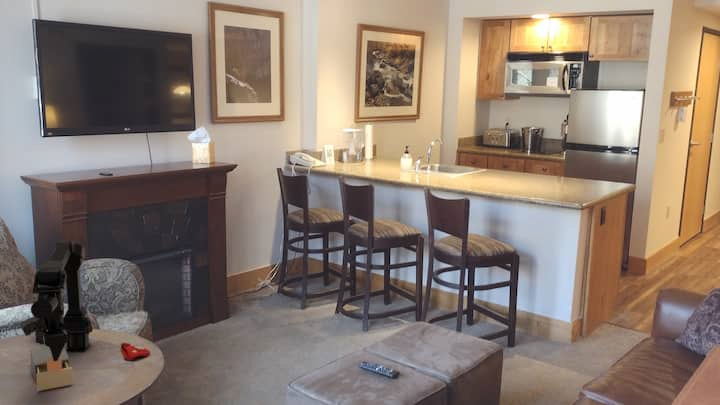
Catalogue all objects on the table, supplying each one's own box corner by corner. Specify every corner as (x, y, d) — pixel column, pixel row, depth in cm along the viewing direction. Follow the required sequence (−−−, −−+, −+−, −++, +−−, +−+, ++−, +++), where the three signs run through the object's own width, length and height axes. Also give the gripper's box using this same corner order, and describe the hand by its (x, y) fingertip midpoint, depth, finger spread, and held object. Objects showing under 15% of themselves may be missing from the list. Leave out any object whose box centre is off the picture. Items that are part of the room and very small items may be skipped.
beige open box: (33, 372, 199) (31, 345, 197) (66, 366, 204) (65, 339, 202) (37, 391, 187) (36, 362, 185) (73, 384, 192) (71, 356, 190)
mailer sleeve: (31, 365, 205) (30, 348, 203) (63, 359, 210) (63, 343, 209) (35, 382, 193) (34, 364, 192) (69, 376, 198) (69, 358, 197)
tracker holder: (154, 347, 221) (144, 352, 211) (151, 359, 220) (140, 365, 210) (123, 338, 221) (111, 342, 211) (119, 349, 221) (107, 354, 211)
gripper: (19, 301, 188) (21, 348, 191) (24, 321, 173) (26, 372, 176) (59, 296, 194) (60, 342, 197) (67, 315, 179) (69, 365, 182)
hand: (53, 355), depth 188 cm, fingers open, 9 cm apart
